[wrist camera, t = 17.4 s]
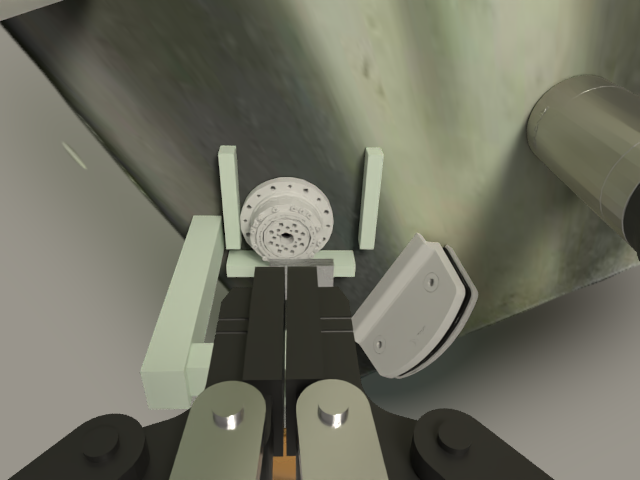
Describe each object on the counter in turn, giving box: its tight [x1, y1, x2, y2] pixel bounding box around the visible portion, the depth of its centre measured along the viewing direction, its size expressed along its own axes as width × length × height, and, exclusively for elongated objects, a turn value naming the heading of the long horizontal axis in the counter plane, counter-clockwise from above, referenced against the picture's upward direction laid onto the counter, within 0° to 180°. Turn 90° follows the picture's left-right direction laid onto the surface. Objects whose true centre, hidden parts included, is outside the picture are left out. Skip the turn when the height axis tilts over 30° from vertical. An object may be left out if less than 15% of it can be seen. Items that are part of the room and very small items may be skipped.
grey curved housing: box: [351, 233, 478, 379], centre depth 57 cm, size 17×5×10 cm, turn 151°
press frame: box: [140, 146, 384, 409], centre depth 44 cm, size 20×14×22 cm
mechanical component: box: [240, 177, 333, 262], centre depth 52 cm, size 10×4×10 cm
